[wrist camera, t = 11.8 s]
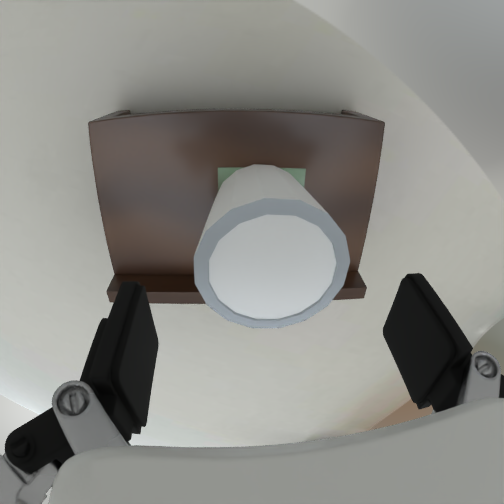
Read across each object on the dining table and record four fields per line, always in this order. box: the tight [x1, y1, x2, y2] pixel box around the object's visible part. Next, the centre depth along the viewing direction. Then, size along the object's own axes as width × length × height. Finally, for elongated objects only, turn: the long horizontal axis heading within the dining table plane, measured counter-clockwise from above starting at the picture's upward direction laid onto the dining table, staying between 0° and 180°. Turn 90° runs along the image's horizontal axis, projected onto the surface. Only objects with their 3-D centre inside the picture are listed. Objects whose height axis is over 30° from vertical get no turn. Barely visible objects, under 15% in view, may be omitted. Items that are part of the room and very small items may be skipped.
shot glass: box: [194, 164, 350, 328], centre depth 16 cm, size 7×7×7 cm
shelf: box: [88, 109, 385, 304], centre depth 21 cm, size 12×18×7 cm, turn 88°
